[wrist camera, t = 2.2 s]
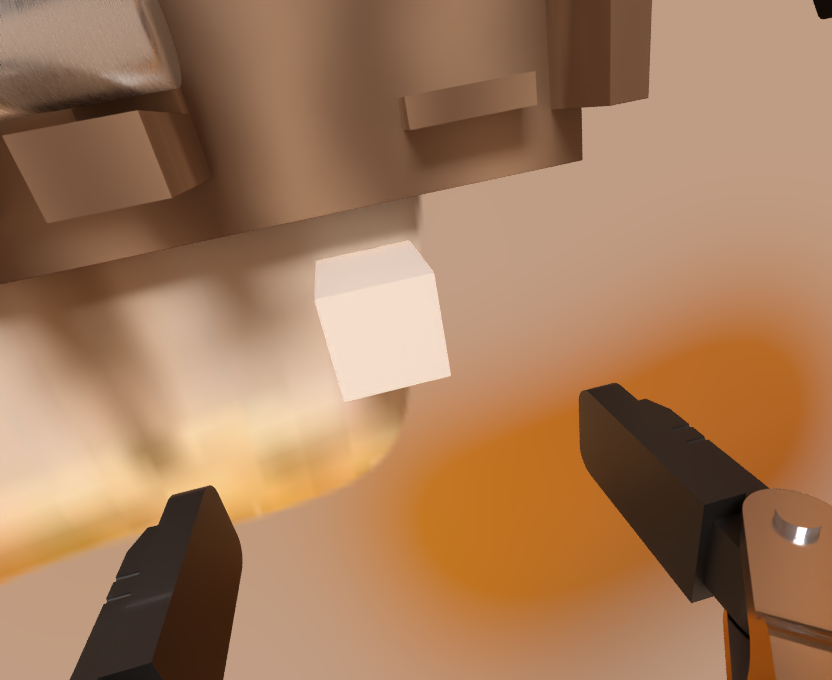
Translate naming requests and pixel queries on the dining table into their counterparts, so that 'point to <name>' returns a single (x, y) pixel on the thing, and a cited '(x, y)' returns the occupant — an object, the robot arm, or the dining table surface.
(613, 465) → the robot arm
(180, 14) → the stand
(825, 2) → the digital camera
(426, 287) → the block
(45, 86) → the shaft
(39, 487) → the dining table surface
